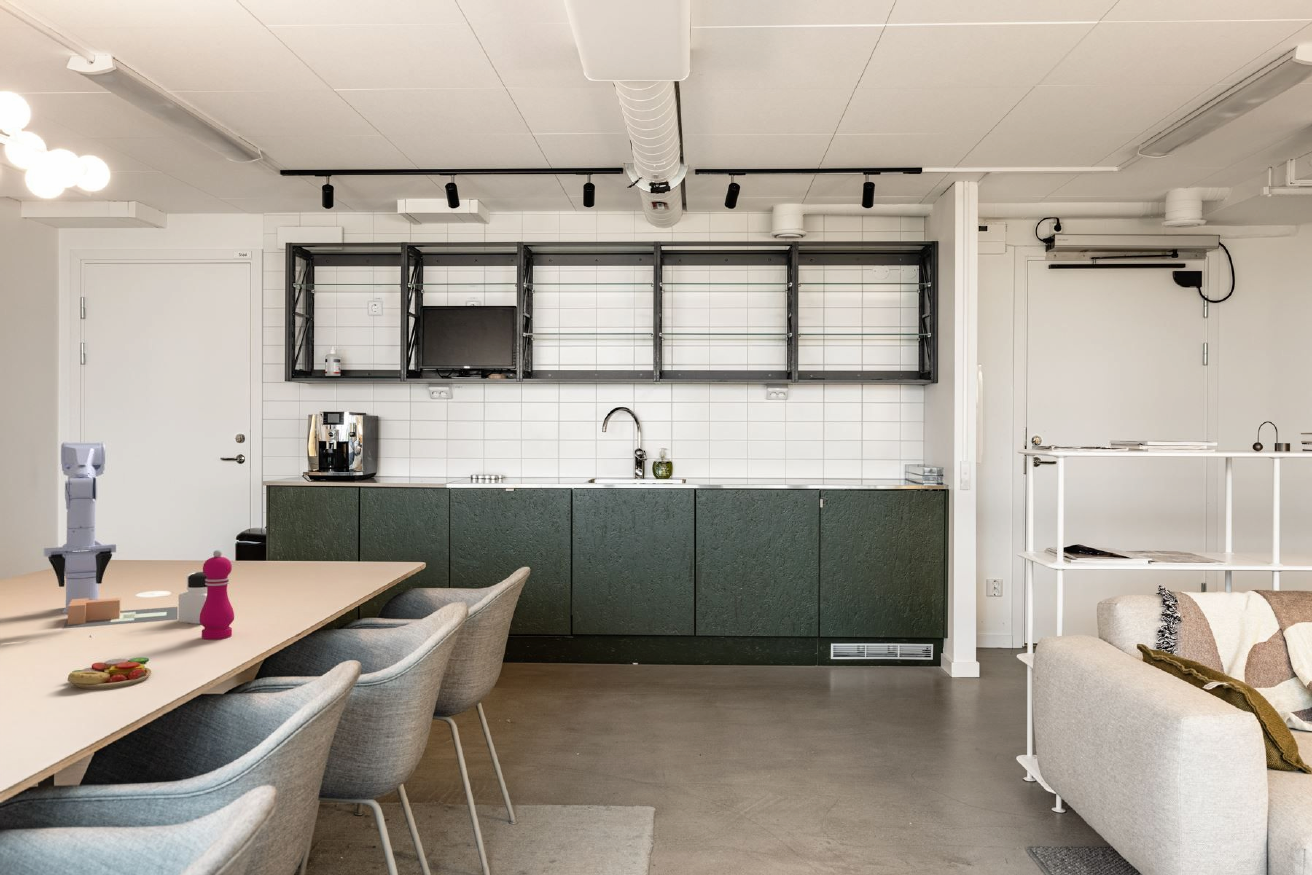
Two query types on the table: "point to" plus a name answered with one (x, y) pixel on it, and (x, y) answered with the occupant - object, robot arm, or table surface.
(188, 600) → the medicine bottle
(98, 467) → the robot arm
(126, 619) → the mat
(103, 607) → the t block
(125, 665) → the toy food set
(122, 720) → the table surface
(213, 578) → the pepper mill
